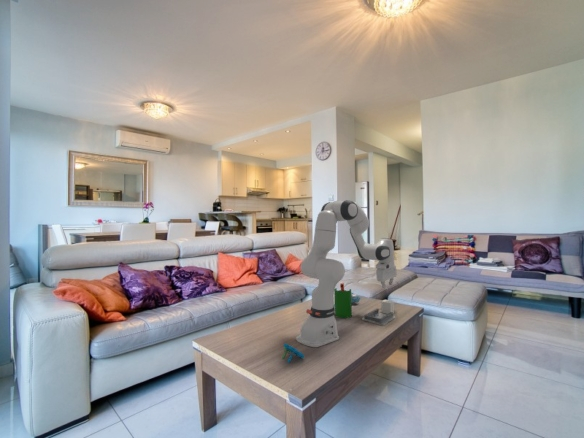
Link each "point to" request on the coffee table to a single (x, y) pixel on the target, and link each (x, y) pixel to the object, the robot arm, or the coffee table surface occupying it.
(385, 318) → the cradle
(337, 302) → the motor
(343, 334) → the coffee table surface
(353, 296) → the owl figurine
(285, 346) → the blue green branched frame
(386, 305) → the cream rectangular block
